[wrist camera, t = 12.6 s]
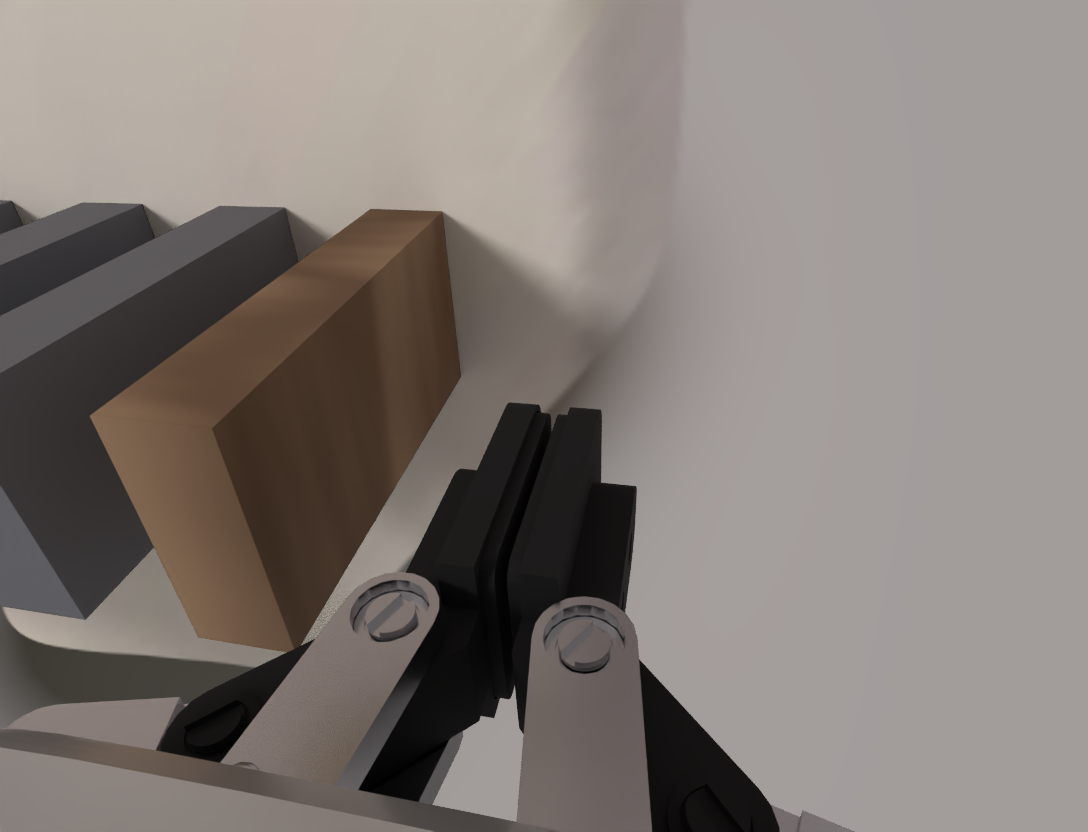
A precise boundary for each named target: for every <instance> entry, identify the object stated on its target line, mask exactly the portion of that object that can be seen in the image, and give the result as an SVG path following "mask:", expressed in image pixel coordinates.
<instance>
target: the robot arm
mask: <svg viewBox="0 0 1088 832" xmlns="http://www.w3.org/2000/svg"><path fill="white" fill-rule="evenodd" d="M601 432H602V415H601V410H597V409H585V408H572V407H571V408H570V409H569V412H568V415H560V414H559V415H558V416H557V418H556V421H555V424H554V427H553V430H552V433H551V417H550V414H548V413H541V410H540V406H539V405H535V404H522V403H508V404H507V406H506V408H505V410H504V412H503V414H502V417H501V419H500V421H499V423H498V425H497V428H496V430H495V432H494V434H493V436H492V439H491V441H490V443H489V445H488V447H487V450H486V452H485V454H484V456H483V458H482V460H481V463H480V465H479V467H478V469H477V470H468V469H459V470H458V471H457V472H456V473H455V475H454V476H453V478H452V480H451V482H450V484H449V486H448V488H447V490H446V492H445V494H444V496H443V498H442V501H441V503H440V505H439V507H438V509H437V511H436V513H435V515H434V517H433V519H432V521H431V523H430V525H429V527H428V529H427V531H426V533H425V535H424V537H423V539H422V541H421V543H420V545H419V547H418V549H417V551H416V553H415V555H414V557H413V559H412V561H411V563H410V565H409V567H408V569H407V571H406V573H404V572H396V573H388V574H383V575H380V576H378V577H375V578H372V579H370V580H368V581H367V582H365V583H363V584H362V585H360V586H358V587H357V588H356V589H355V590H354V591H353V592H352V593H351V594H350V595H349V596H348V597H347V598H346V600H345V601H344V602H343V604H342V605H341V606H340V607H339V609H338V610H337V611H336V613H335V614H334V615H333V617H332V618H331V619H330V621H329V622H328V623H327V624H326V626H325V627H324V628H323V630H322V631H321V632H320V634H319V635H318V636H317V637H316V639H314V640H312V641H310V642H308V643H306V644H303V645H301V646H299V647H297V648H295V649H293V650H291V651H289V652H287V653H285V654H283V655H281V656H279V657H277V658H275V659H273V660H271V661H269V662H267V663H264V664H262V665H260V666H258V667H256V668H254V669H252V670H250V671H248V672H246V673H244V674H242V675H240V676H238V677H236V678H234V679H232V680H230V681H228V682H225V683H223V684H221V685H219V686H217V687H215V688H213V689H211V690H209V691H207V692H206V693H204V694H202V695H201V696H199V697H198V698H196V699H194V700H193V701H191V702H190V703H189V704H183V702H182V700H181V699H180V697H174V698H158V699H141V700H124V701H109V702H92V703H75V704H59V705H53V706H49V707H44V708H39V709H37V710H35V711H33V712H31V713H29V714H27V715H25V716H23V717H21V718H19V719H18V720H16V721H15V722H14V723H12V724H11V725H10V726H9V727H7V728H6V729H2V728H1V729H0V832H854V831H851V830H849V829H847V828H844V827H842V826H839V825H837V824H834V823H832V822H830V821H827V820H825V819H822V818H820V817H817V816H815V815H813V814H810V813H808V812H805V811H802V814H801V816H800V817H798V816H796V815H793V814H791V813H789V812H786V811H784V810H782V809H779V808H777V807H774V806H772V805H770V804H769V802H768V801H767V799H766V798H765V797H764V795H763V794H762V792H761V791H760V790H759V788H758V787H757V786H756V785H755V784H754V783H753V782H752V781H751V780H750V779H749V778H748V776H747V775H746V774H745V773H744V772H743V771H742V770H741V769H740V768H739V767H738V766H737V765H736V764H735V763H734V761H732V759H731V758H730V757H729V756H728V755H727V754H726V753H725V752H724V751H723V749H721V747H720V746H719V745H718V744H717V743H716V742H715V741H714V740H713V739H712V738H711V737H710V735H709V734H708V733H707V732H706V731H705V730H704V729H703V728H702V727H701V726H700V725H699V724H698V722H697V721H696V720H695V719H694V718H693V717H692V716H691V715H690V714H689V713H688V712H687V711H686V710H685V708H684V707H683V706H682V705H681V704H680V703H679V702H678V701H677V700H676V699H675V698H674V697H673V695H671V693H670V692H669V691H668V690H667V689H666V688H665V687H664V686H663V685H662V684H661V683H660V682H659V680H658V679H657V678H656V677H655V676H654V675H653V674H652V673H651V672H650V671H649V670H648V668H647V667H646V666H645V665H644V664H643V663H642V662H641V661H640V660H639V653H638V640H637V635H636V631H635V628H634V625H633V623H632V622H631V621H630V619H629V617H628V616H627V615H626V613H625V608H626V601H627V593H628V585H629V577H630V570H631V561H632V552H633V541H634V530H635V514H636V513H635V512H636V493H637V489H636V486H628V485H618V484H608V483H601V435H602V434H601ZM514 686H515V690H516V699H517V710H518V720H519V728H520V730H521V731H522V733H523V734H524V737H523V750H522V762H521V774H520V775H521V776H520V787H519V799H518V812H517V822H514V821H509V820H504V819H499V818H494V817H489V816H484V815H480V814H474V813H470V812H465V811H460V810H455V809H450V808H445V807H440V806H435V805H432V804H433V802H434V800H435V798H436V796H437V794H438V791H439V789H440V787H441V785H442V783H443V781H444V779H445V777H446V775H447V773H448V771H449V768H450V767H451V764H452V762H453V760H454V758H455V756H456V754H457V752H458V750H459V747H460V744H461V740H462V737H463V730H465V729H467V728H468V727H470V726H472V725H473V724H475V723H476V722H478V721H479V719H480V716H486V717H491V718H494V716H495V713H496V710H497V706H498V703H499V699H500V698H504V699H510V698H511V696H512V693H513V689H514Z"/></svg>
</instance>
